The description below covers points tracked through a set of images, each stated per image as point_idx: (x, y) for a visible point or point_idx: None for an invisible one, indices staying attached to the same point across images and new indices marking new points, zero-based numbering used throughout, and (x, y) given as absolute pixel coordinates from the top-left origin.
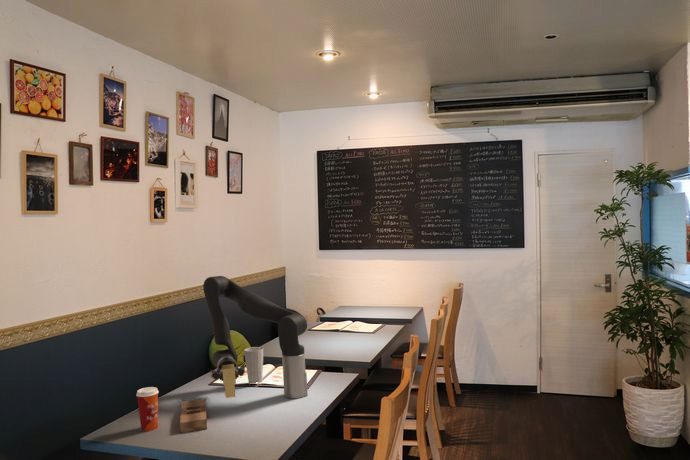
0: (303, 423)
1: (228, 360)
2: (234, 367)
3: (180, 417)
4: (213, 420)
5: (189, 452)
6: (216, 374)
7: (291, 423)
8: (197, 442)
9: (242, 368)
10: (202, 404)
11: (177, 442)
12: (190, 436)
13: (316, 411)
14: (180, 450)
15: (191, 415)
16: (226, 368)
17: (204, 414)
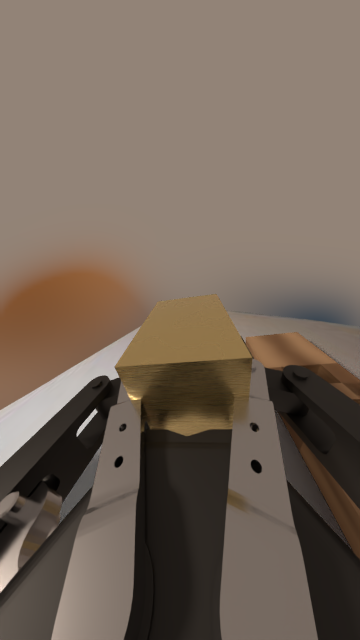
0: (116, 345)
1: None
2: (155, 305)
3: (321, 351)
4: None
5: (244, 312)
6: (281, 372)
7: (126, 347)
8: (243, 324)
9: (69, 404)
10: None
11: (274, 325)
12: (263, 335)
13: (66, 374)
14: (257, 314)
15: (296, 356)
16: (196, 300)
17: (261, 355)
